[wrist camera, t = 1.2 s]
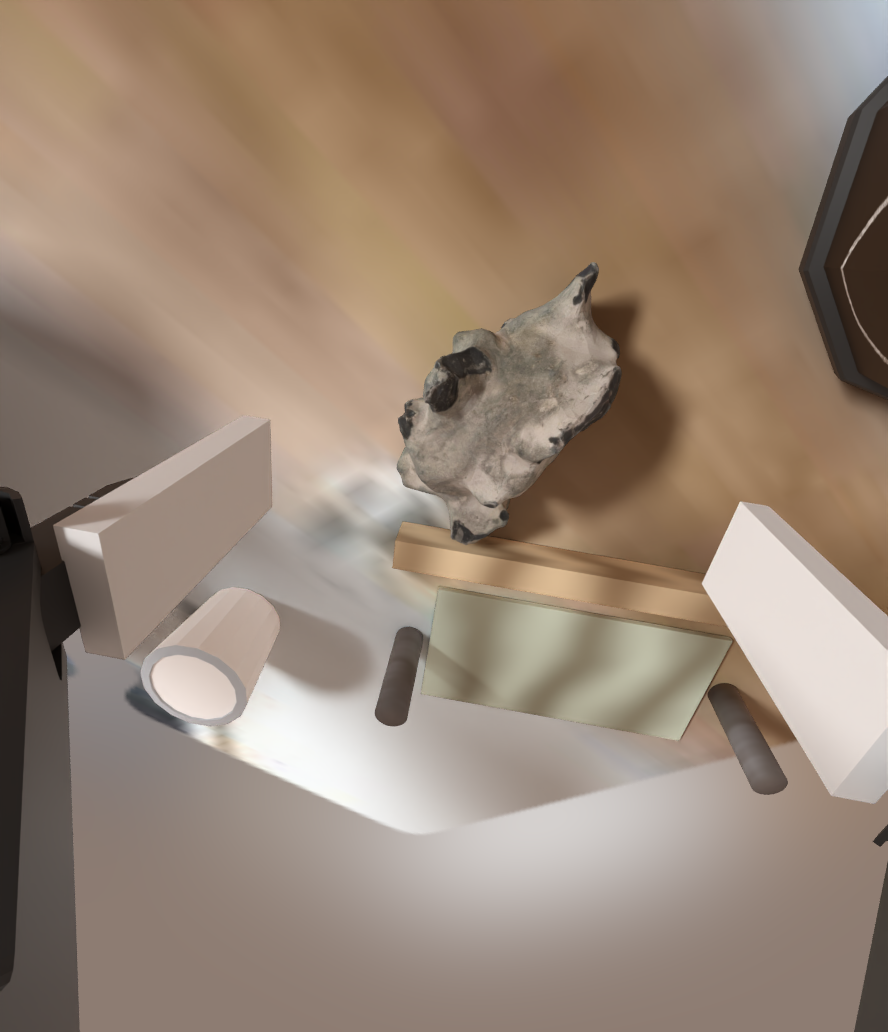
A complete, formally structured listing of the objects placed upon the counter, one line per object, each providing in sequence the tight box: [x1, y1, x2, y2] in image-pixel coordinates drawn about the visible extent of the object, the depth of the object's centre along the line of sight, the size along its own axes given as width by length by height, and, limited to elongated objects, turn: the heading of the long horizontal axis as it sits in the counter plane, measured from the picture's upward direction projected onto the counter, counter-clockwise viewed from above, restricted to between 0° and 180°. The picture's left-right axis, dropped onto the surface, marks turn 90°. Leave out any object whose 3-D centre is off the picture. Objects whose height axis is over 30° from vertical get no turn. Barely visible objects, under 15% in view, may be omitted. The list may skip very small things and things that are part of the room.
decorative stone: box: [397, 262, 622, 545], centre depth 24 cm, size 16×9×10 cm, turn 158°
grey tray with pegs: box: [375, 522, 788, 795], centre depth 32 cm, size 26×14×7 cm, turn 82°
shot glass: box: [140, 587, 280, 726], centre depth 34 cm, size 7×7×7 cm
